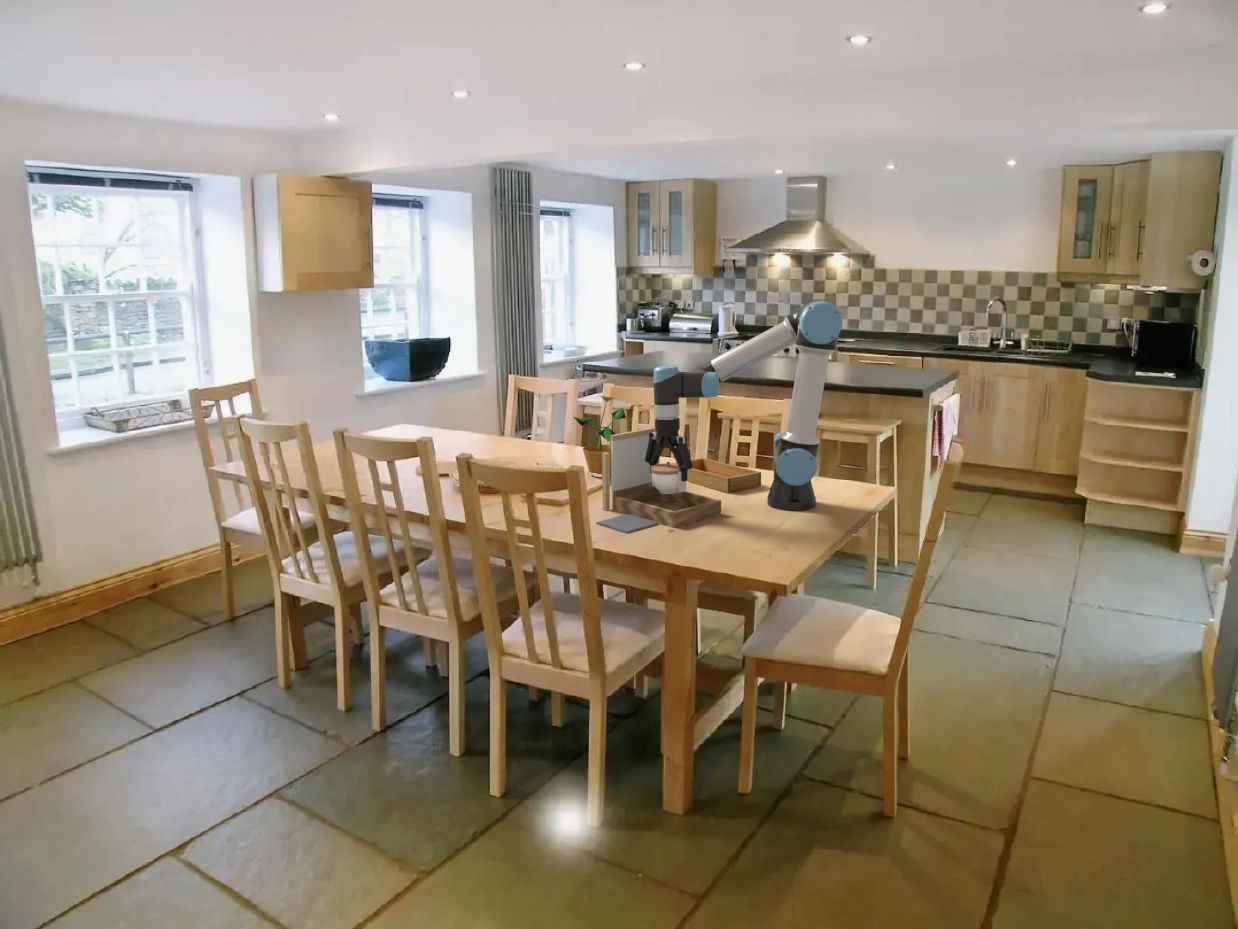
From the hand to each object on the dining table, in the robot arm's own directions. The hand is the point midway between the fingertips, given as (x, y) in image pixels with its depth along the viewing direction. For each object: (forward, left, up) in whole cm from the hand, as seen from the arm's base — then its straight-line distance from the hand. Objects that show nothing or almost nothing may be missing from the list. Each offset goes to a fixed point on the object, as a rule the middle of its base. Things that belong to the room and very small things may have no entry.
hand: (668, 488), depth 284 cm
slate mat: (-1, +18, -8) cm, 20 cm away
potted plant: (+51, -18, -8) cm, 55 cm away
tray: (+16, -40, -8) cm, 44 cm away
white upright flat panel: (+15, +1, -8) cm, 17 cm away
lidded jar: (0, 0, -1) cm, 1 cm away
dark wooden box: (0, 0, -8) cm, 8 cm away
